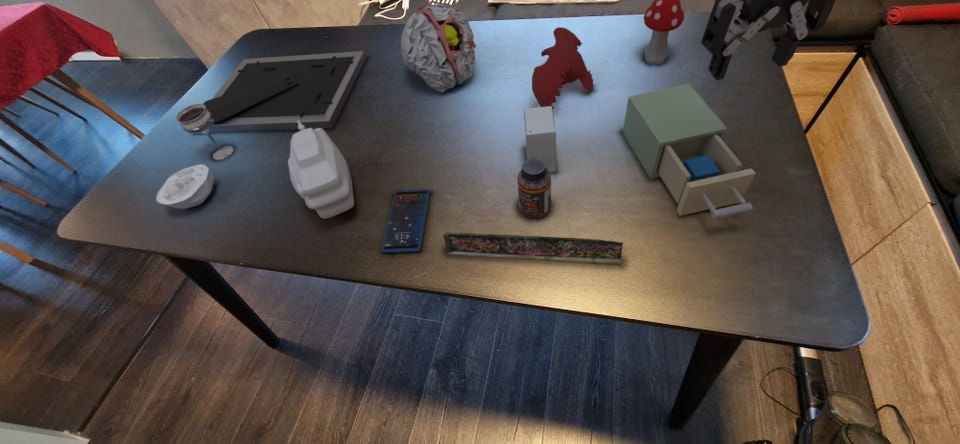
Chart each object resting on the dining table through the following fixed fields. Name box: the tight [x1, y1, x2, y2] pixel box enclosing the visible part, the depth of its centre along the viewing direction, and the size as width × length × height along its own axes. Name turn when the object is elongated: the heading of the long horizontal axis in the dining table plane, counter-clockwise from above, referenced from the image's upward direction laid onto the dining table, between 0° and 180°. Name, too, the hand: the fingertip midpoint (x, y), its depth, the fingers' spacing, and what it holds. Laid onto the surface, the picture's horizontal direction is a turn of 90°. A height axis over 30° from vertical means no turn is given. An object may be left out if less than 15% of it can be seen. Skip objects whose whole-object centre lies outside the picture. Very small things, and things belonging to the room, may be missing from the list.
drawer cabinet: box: [622, 83, 728, 180], centre depth 82 cm, size 14×12×9 cm
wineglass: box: [175, 103, 234, 161], centre depth 100 cm, size 7×7×12 cm
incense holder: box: [442, 231, 624, 266], centre depth 72 cm, size 30×1×5 cm, turn 81°
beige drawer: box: [657, 134, 756, 220], centre depth 74 cm, size 18×11×7 cm, turn 10°
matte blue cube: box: [683, 155, 720, 182], centre depth 75 cm, size 4×4×4 cm
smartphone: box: [380, 189, 431, 254], centre depth 83 cm, size 8×1×15 cm
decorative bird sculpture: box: [531, 26, 594, 110], centre depth 99 cm, size 28×9×15 cm
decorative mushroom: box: [643, 0, 685, 66], centre depth 99 cm, size 10×9×15 cm
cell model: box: [155, 163, 215, 210], centre depth 93 cm, size 10×12×7 cm
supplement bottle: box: [516, 158, 552, 219], centre depth 76 cm, size 6×6×11 cm
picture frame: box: [202, 50, 367, 134], centre depth 116 cm, size 31×4×39 cm
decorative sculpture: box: [399, 0, 477, 93], centre depth 107 cm, size 19×21×20 cm
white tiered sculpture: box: [287, 120, 355, 220], centre depth 83 cm, size 11×18×16 cm, turn 24°
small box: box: [523, 105, 557, 173], centre depth 84 cm, size 8×6×10 cm
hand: (747, 69), depth 57 cm, fingers open, 8 cm apart
